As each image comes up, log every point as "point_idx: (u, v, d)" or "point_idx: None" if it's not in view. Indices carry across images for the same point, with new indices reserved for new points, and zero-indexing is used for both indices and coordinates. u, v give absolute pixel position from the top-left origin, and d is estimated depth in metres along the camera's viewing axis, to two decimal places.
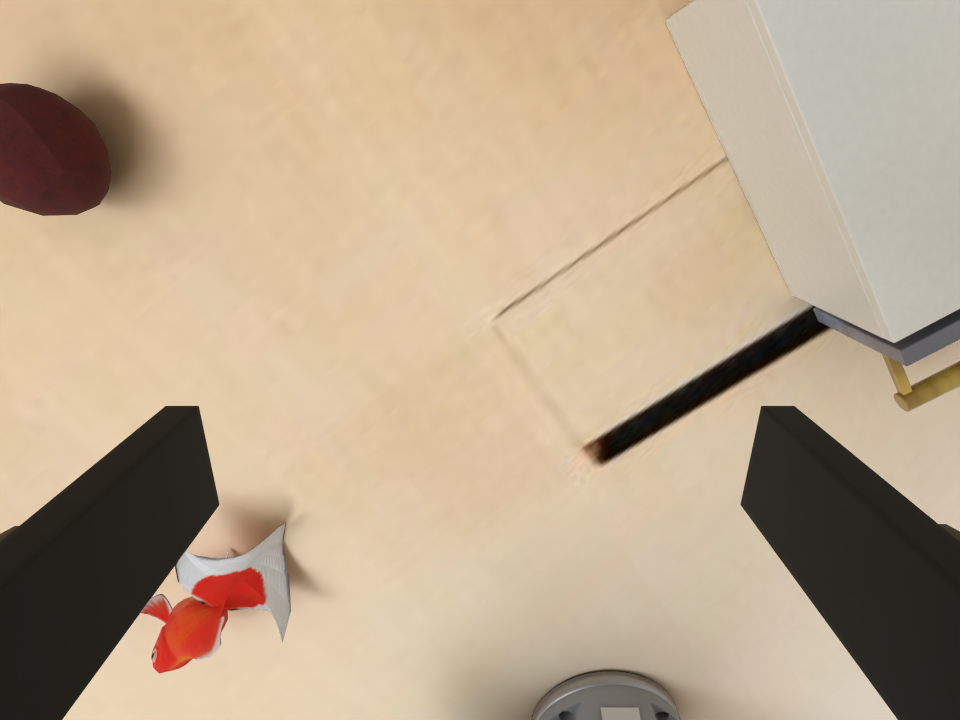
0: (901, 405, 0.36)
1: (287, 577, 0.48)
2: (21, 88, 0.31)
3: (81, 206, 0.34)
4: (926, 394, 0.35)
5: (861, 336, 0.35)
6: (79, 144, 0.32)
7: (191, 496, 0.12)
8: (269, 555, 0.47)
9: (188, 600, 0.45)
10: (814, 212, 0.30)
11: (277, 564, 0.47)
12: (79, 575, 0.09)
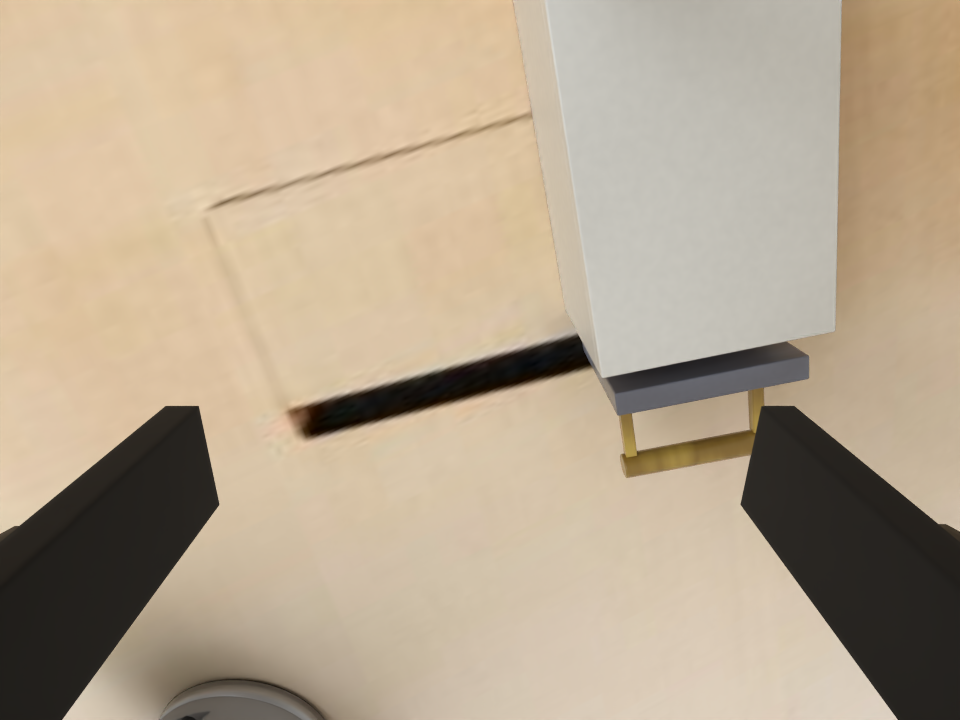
0: (623, 469, 0.30)
1: None
2: None
3: None
4: (649, 464, 0.29)
5: None
6: None
7: (191, 496, 0.12)
8: None
9: None
10: (563, 183, 0.23)
11: None
12: (79, 575, 0.09)
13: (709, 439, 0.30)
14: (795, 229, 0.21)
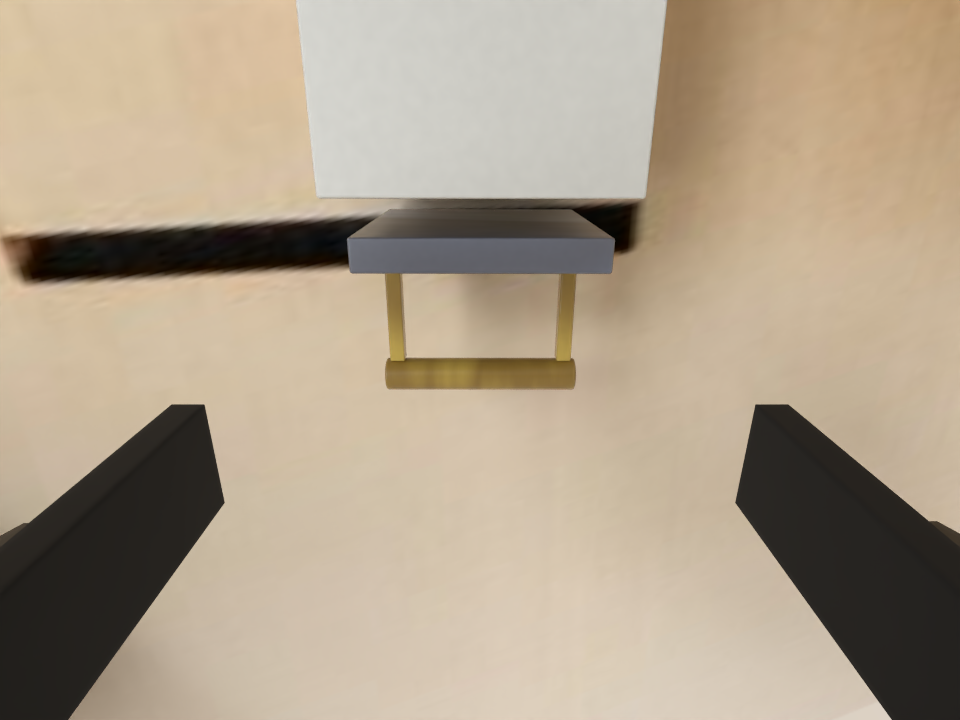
0: None
1: None
2: None
3: None
4: (416, 374, 0.22)
5: None
6: None
7: (197, 494, 0.12)
8: None
9: None
10: None
11: None
12: (88, 571, 0.09)
13: (501, 358, 0.23)
14: (605, 17, 0.15)
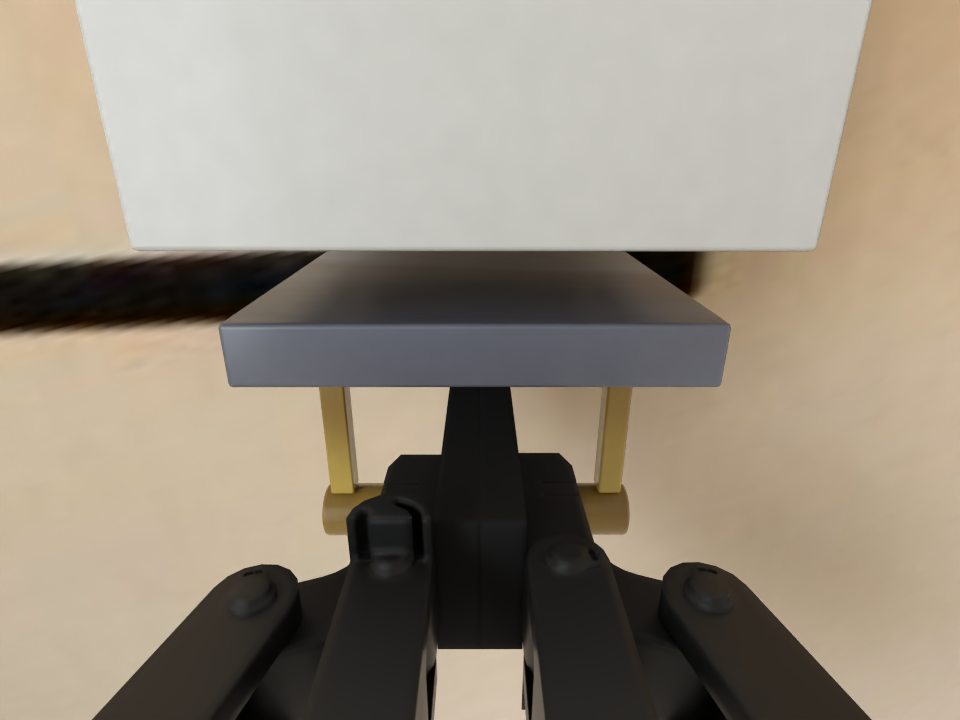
0: None
1: None
2: None
3: None
4: None
5: None
6: None
7: None
8: None
9: None
10: None
11: None
12: None
13: None
14: None
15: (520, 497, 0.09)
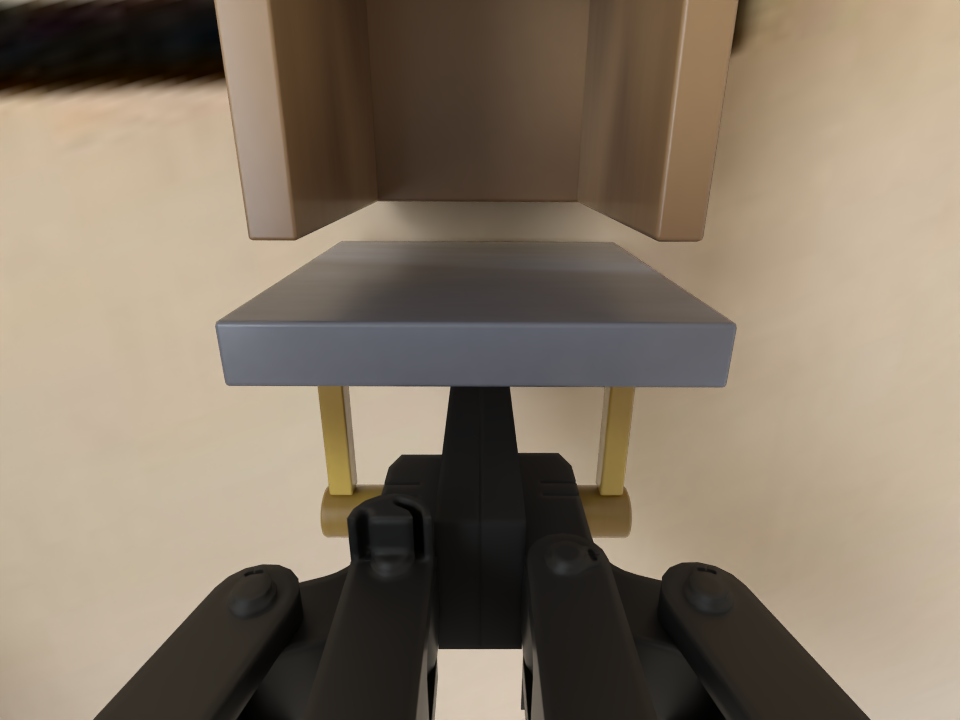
0: None
1: None
2: None
3: None
4: None
5: None
6: None
7: None
8: None
9: None
10: None
11: None
12: None
13: None
14: None
15: (519, 496, 0.09)
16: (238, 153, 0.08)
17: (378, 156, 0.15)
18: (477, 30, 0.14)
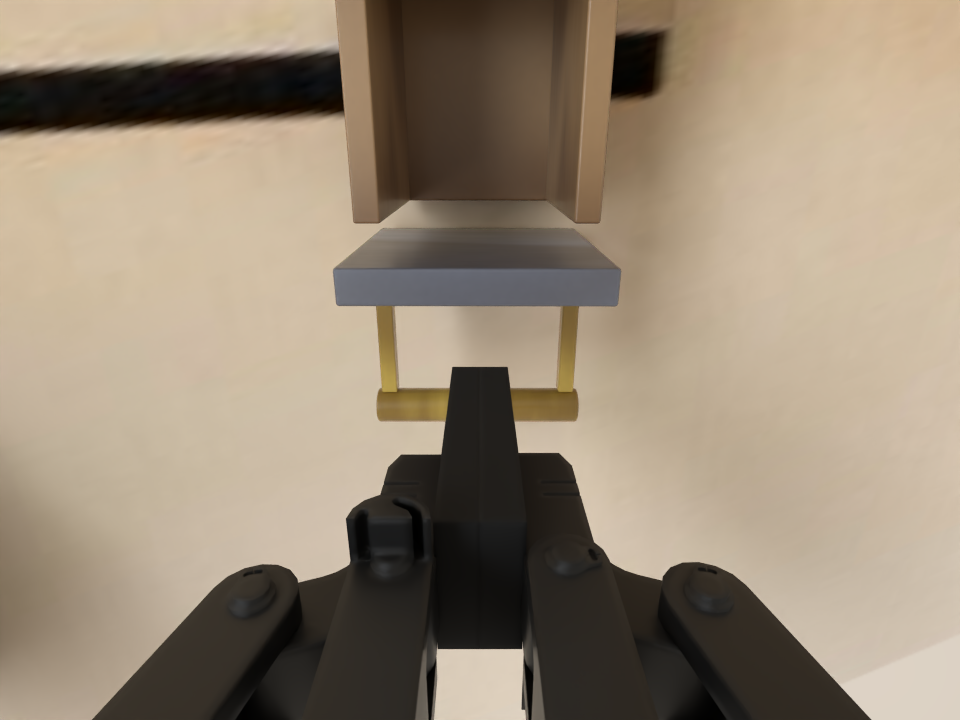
0: None
1: None
2: None
3: None
4: (409, 406, 0.21)
5: None
6: None
7: None
8: None
9: None
10: None
11: None
12: None
13: None
14: None
15: (519, 497, 0.09)
16: (350, 176, 0.16)
17: (410, 170, 0.23)
18: (477, 87, 0.22)
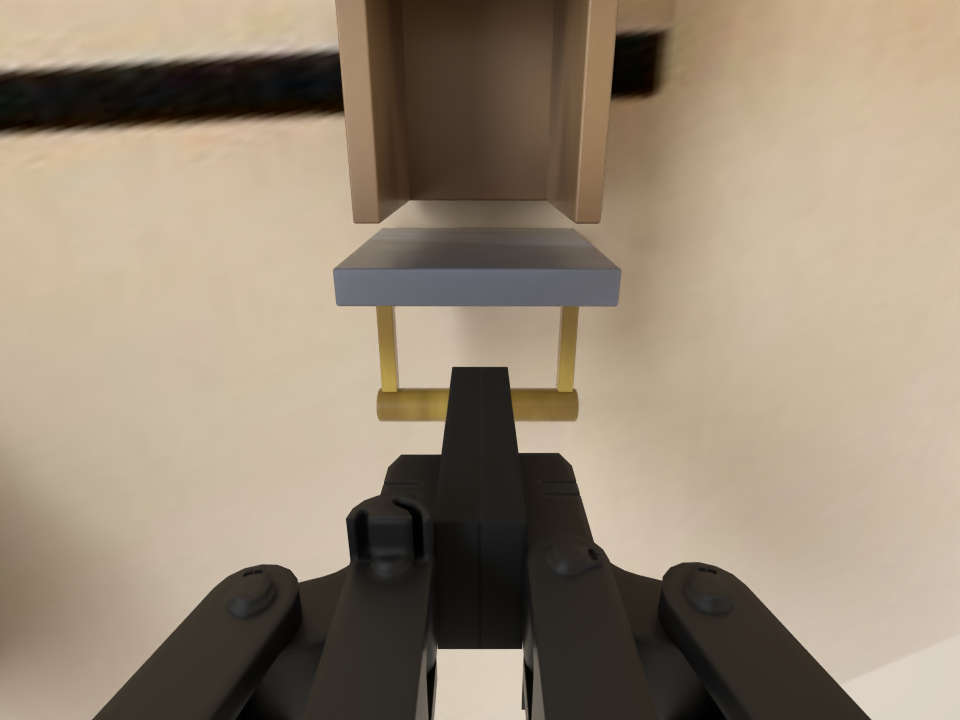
0: None
1: None
2: None
3: None
4: (409, 406, 0.21)
5: None
6: None
7: None
8: None
9: None
10: None
11: None
12: None
13: None
14: None
15: (519, 497, 0.09)
16: (350, 177, 0.16)
17: (410, 170, 0.23)
18: (477, 87, 0.22)
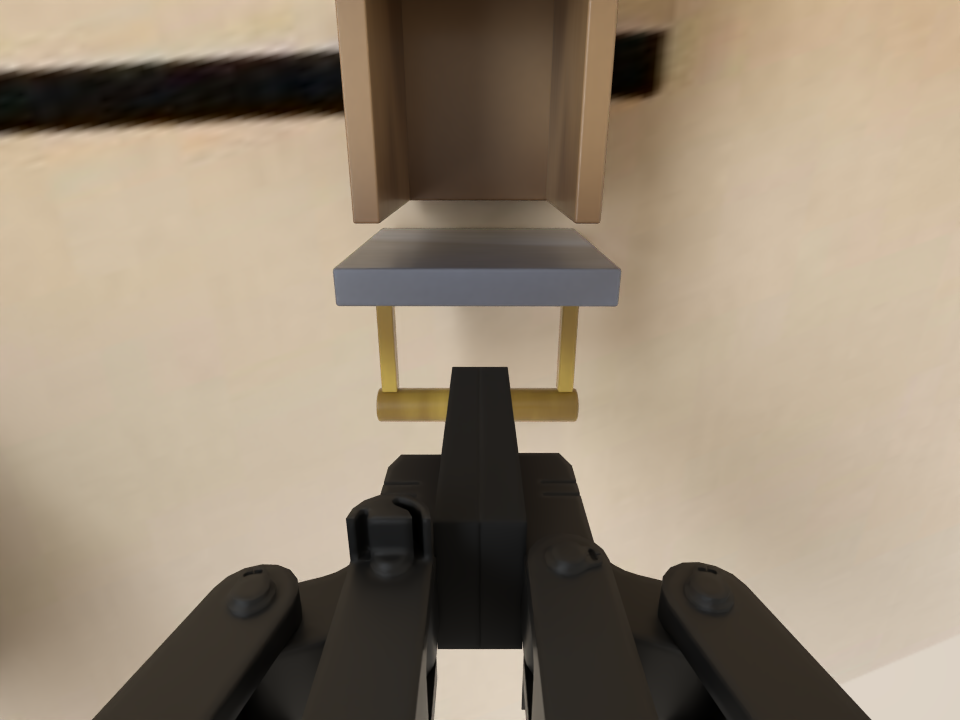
0: None
1: None
2: None
3: None
4: (409, 406, 0.21)
5: None
6: None
7: None
8: None
9: None
10: None
11: None
12: None
13: None
14: None
15: (519, 497, 0.09)
16: (350, 176, 0.16)
17: (410, 170, 0.23)
18: (477, 87, 0.22)
